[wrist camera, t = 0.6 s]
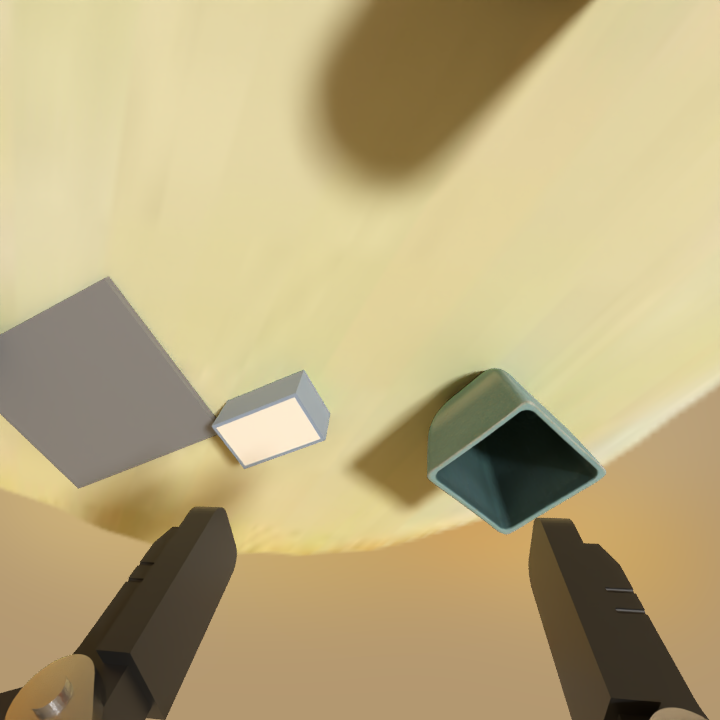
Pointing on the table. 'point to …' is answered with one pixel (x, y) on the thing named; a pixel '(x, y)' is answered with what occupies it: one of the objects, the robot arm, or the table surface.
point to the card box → (273, 420)
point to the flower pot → (505, 453)
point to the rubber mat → (97, 388)
